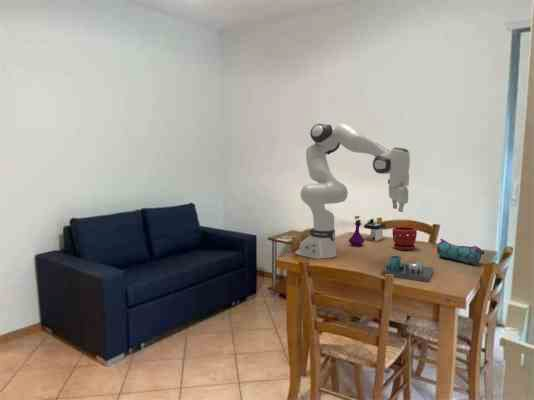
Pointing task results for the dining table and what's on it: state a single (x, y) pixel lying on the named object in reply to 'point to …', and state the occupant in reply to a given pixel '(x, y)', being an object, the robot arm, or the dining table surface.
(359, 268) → the dining table surface
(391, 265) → the planet gear
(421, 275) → the carrier plate
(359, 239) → the perfume bottle
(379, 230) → the black-topped pedestal
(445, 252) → the pencil case
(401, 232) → the plant pot
